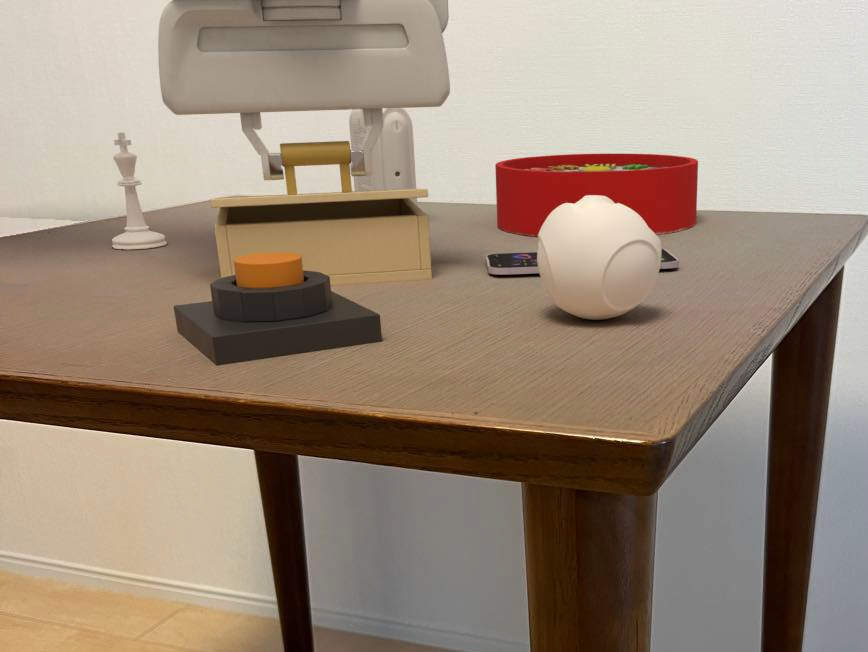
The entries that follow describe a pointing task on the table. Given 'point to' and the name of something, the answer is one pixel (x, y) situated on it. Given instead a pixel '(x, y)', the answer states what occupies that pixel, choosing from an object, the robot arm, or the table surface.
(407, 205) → the open wooden box
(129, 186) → the chess piece
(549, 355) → the table surface
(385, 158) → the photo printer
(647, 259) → the motion sensor
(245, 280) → the button
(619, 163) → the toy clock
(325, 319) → the block
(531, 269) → the smartphone
